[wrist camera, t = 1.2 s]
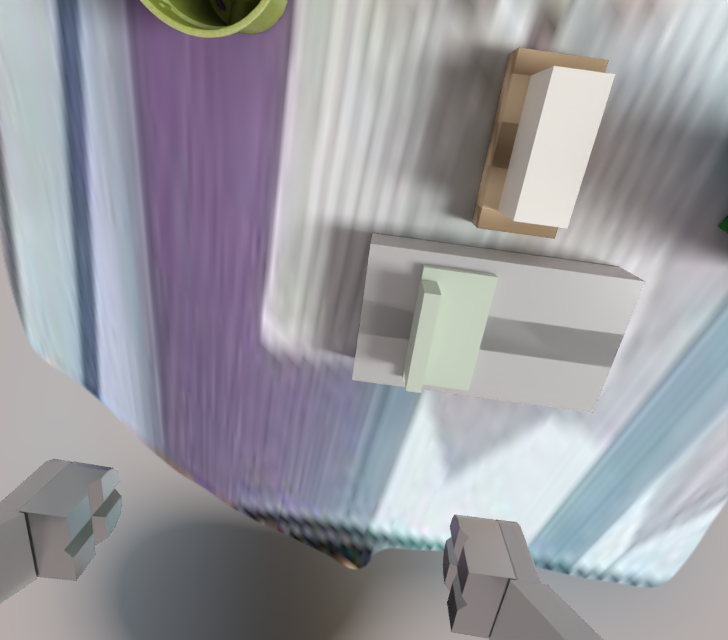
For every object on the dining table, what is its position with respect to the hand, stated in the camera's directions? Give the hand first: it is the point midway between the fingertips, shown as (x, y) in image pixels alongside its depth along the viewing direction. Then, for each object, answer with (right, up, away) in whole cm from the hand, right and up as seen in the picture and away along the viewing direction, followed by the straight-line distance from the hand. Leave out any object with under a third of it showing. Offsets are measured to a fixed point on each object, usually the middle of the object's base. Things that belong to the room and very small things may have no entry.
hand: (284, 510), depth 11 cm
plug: (+14, +18, +23) cm, 32 cm away
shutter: (+9, +4, +25) cm, 26 cm away
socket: (+12, +5, +28) cm, 31 cm away
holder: (+15, +18, +23) cm, 32 cm away
